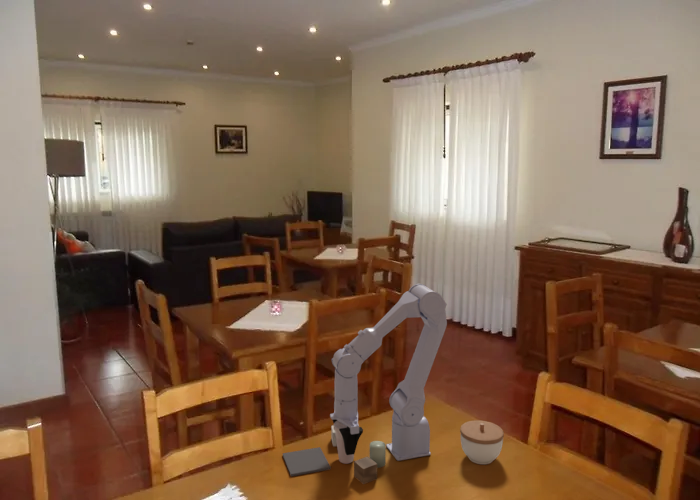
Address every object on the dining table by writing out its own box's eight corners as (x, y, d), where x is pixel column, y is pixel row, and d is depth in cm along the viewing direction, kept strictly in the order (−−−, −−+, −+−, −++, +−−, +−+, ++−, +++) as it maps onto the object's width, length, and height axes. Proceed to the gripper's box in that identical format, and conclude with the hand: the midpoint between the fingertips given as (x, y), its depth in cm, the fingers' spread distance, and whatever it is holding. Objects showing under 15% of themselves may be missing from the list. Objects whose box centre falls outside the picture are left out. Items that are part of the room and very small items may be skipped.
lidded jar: (487, 444, 150) (489, 411, 148) (510, 465, 140) (512, 430, 138) (451, 451, 147) (453, 417, 145) (472, 472, 137) (474, 437, 135)
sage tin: (381, 457, 143) (382, 439, 142) (387, 466, 140) (388, 447, 139) (367, 460, 142) (367, 442, 141) (372, 468, 138) (372, 450, 137)
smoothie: (356, 467, 139) (356, 414, 136) (331, 465, 140) (330, 412, 138) (360, 454, 145) (360, 403, 143) (336, 451, 146) (336, 401, 144)
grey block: (345, 438, 153) (345, 424, 153) (347, 445, 149) (347, 431, 149) (331, 439, 153) (331, 425, 152) (333, 446, 149) (332, 432, 148)
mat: (320, 449, 147) (320, 447, 147) (330, 469, 138) (330, 467, 138) (282, 455, 144) (282, 453, 144) (290, 476, 135) (290, 474, 135)
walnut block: (367, 471, 137) (367, 456, 137) (377, 479, 134) (377, 463, 133) (353, 476, 135) (353, 461, 135) (363, 484, 132) (363, 469, 131)
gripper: (322, 387, 145) (323, 436, 147) (339, 411, 131) (339, 464, 134) (348, 384, 147) (348, 432, 150) (367, 407, 134) (367, 459, 136)
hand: (346, 447), depth 142 cm, fingers closed on smoothie, 6 cm apart
